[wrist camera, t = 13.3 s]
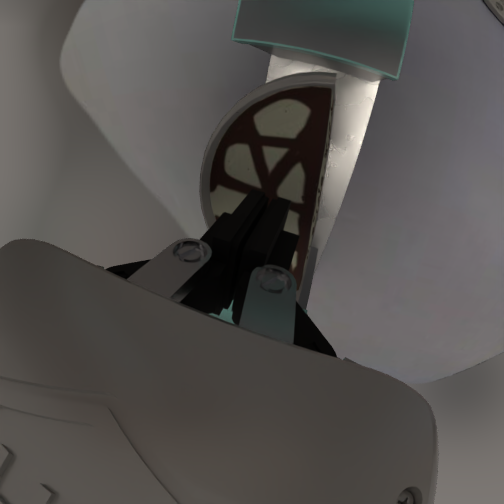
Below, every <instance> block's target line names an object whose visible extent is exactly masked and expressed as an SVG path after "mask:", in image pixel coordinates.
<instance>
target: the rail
mask: <svg viewBox="0 0 504 504" xmlns="http://www.w3.org/2000/svg"><path fill="white" fill-rule="evenodd" d="M315 71H317V72H331V73H337V75H336V81H335V92H336V100H335V109H334V117H333V125H332V132H331V139H330V146H329V153H328V160H327V166H326V173H325V179H324V185H323V191H322V196H321V202H320V208H319V213H318V218H317V223H316V227H315V232H314V237H313V241H312V247H315V248H318V253H317V259H316V264H315V269H314V273H315V270H316V268H317V265H318V263H319V261H320V258H321V256H322V253H323V251H324V248H325V246H326V243H327V241H328V238H329V235H330V233H331V230H332V228H333V225H334V222H335V220H336V217H337V214H338V212H339V209H340V206H341V203H342V201H343V198H344V195H345V192H346V189H347V187H348V184H349V181H350V178H351V175H352V172H353V169H354V166H355V163H356V160H357V157H358V154H359V151H360V147H361V144H362V141H363V138H364V135H365V131H366V128H367V125H368V121H369V118H370V114H371V111H372V107H373V104H374V100H375V96H376V93H377V89H378V85H379V81H375V82H370V81H367V80H364V79H361V78H358V77H355V76H352V75H349V74H346V73H342V72H339V71H336V70H332V69H328V68H325V67H321V66H317V65H313V64H308V63H304V62H300V61H295V60H290V59H285V58H279V57H276V56H274V55H271V60H270V64H269V69H268V74H267V79H266V83H268V82H270V81H272V80H274V79H277V78H280V77H284V76H287V75H291V74H295V73H304V72H315ZM313 275H314V274H313Z"/></svg>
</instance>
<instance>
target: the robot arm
mask: <svg viewBox="0 0 504 504" xmlns="http://www.w3.org/2000/svg"><path fill="white" fill-rule="evenodd" d="M484 2H485V3H486V4H487V6H488V7H489V8H490V10H491V11H492V12H493V13H494V14H495V15H496V17H497V18H498V19H499V20H500V21H501V22H502V23H503V24H504V0H484ZM268 201H269V197H266V196H265V193H264V192H261V191H257V190H254V189H252V190H251V191H250V192H249V193H248V195H247V196H246V197H245V198H244V199H243V201H242V202H241V203H240V204H239V205H238V207H237V208H236V209H235V210H234V212H233V213H232V214H230V213H227V212H224V213H222V214H221V216H220V217H219V218H218V219H217V220H216V221H215V223H214V224H213V225H212V226H211V227H210V228H209V229H208V231H207V232H206V233H205V234H204V235H203V236H202V238H201V239H200V240H198V239H193V238H185V239H180V240H177V241H175V242H174V243H172V244H171V245H169V246H168V247H167V248H166V249H164V250H163V251H162V252H161V253H159V254H158V255H157V256H155V257H154V258H153V259H151V260H145V261H139V262H134V263H128V264H123V265H118V266H113V267H110V268H107V269H104V267H102V266H98V265H95V264H93V263H90V262H88V261H86V260H84V259H82V258H80V257H78V256H76V255H74V254H72V253H70V252H68V251H66V250H63V249H61V248H59V247H57V246H55V245H52V244H50V243H47V242H43V241H39V240H35V239H18V240H13V241H11V242H9V243H7V244H5V245H4V246H3V247H1V248H0V504H434V498H435V492H436V485H437V474H438V455H439V454H438V434H437V426H436V420H435V416H434V414H433V411H432V408H431V406H430V405H429V403H428V402H427V401H426V399H424V397H423V396H422V395H421V394H419V393H418V392H417V391H416V390H414V389H413V388H411V387H410V386H408V385H407V384H405V383H404V382H402V381H400V380H398V379H396V378H394V377H392V376H390V375H387V374H385V373H382V372H380V371H377V370H374V369H372V368H368V367H365V366H362V365H360V364H358V363H356V362H354V361H352V360H350V359H348V358H346V357H345V358H344V359H343V360H342V359H340V358H338V357H337V356H336V353H335V351H334V349H333V348H332V346H331V345H330V344H329V342H328V341H327V340H326V339H325V337H324V336H323V335H322V333H321V332H320V331H319V329H318V328H317V327H316V326H315V324H314V323H313V322H312V320H311V319H310V318H309V317H308V315H307V314H306V313H305V311H304V310H303V309H302V308H301V306H300V305H299V304H298V302H297V301H296V288H297V285H296V280H295V278H294V276H293V275H292V274H291V273H290V272H289V269H290V266H291V262H292V259H293V256H294V253H295V249H296V246H297V243H298V240H299V236H300V235H297V234H294V233H291V232H288V231H284V226H285V223H286V219H287V216H288V212H289V208H290V205H291V200H287V199H284V198H281V197H278V199H277V200H276V199H272V200H271V202H270V204H269V205H268ZM267 206H268V207H267ZM232 301H233V304H232V310H231V311H232V312H233V313H232V320H233V322H234V324H233V323H230V322H228V321H225V320H222V319H220V318H217V317H214V316H212V315H209V314H211V313H213V314H216V315H218V316H219V315H220V313H221V312H222V310H223V308H224V309H226V310H228V308H229V307H230V305H231V303H232Z"/></svg>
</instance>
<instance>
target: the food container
mask: <svg viewBox="0 0 504 504" xmlns="http://www.w3.org/2000/svg"><path fill="white" fill-rule="evenodd" d="M336 75H337V73H331V72H317V71H315V72H304V73H295V74H291V75H287V76H284V77H280V78H277V79H274V80H272V81H270V82H268V83H266V84H264V85H262V86H260V87H258V88H256V89H254V90H253V91H252V92H250V93H249V94H248V95H246V96H245V97H244V98H242V99H241V100H240V101H239V102H238V103H237V104H236V105H235V106H234V107H233V108H232V109H231V110H230V111H229V112H228V113H227V114H226V115H225V116H224V118H223V119H222V120H221V121H220V123H219V124H218V126H217V128H216V129H215V131H214V132H213V134H212V136H211V138H210V140H209V143H208V145H207V148H206V150H205V153H204V158H203V162H202V167H201V174H200V201H201V209H202V212H203V216H204V219H205V223H206V226H207V228H208V229H209V228H210V227H211V226H212V225H213V224H214V223H215V221H216V220H217V219H218V218H219V217H220V216H221V214H222V213H224V212H227V213H230V214H232V213H233V212H234V210H235V209H236V208H237V207H238V205H239V204H240V203H241V202H242V201H243V199H244V198H245V197H246V196H247V195H248V193H249V192H250V191H251V190H252V189H254V190H257V191H261V192H264V193H265V196H266V197H269V201H268V205H269V204H270V202H271V200H272V199H276V200H277V199H278V197H281V198H284V199H287V200H291V205H290V208H289V212H288V216H287V219H286V223H285V226H284V231H288V232H291V233H294V234H297V235H300V236H299V240H298V243H297V246H296V249H295V253H294V256H293V259H292V262H291V266H290V269H289V272H290V273H291V274H292V275H293V276H294V278H295V280H296V285H297V288H296V301H297V302H298V300H299V297H300V293H301V289H302V284H303V280H304V276H305V272H306V268H307V264H308V259H309V255H310V250H311V246H312V241H313V237H314V232H315V227H316V223H317V218H318V213H319V208H320V202H321V196H322V191H323V185H324V179H325V173H326V166H327V160H328V153H329V146H330V139H331V132H332V125H333V117H334V109H335V100H336V92H335V81H336ZM267 207H268V206H267Z"/></svg>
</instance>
